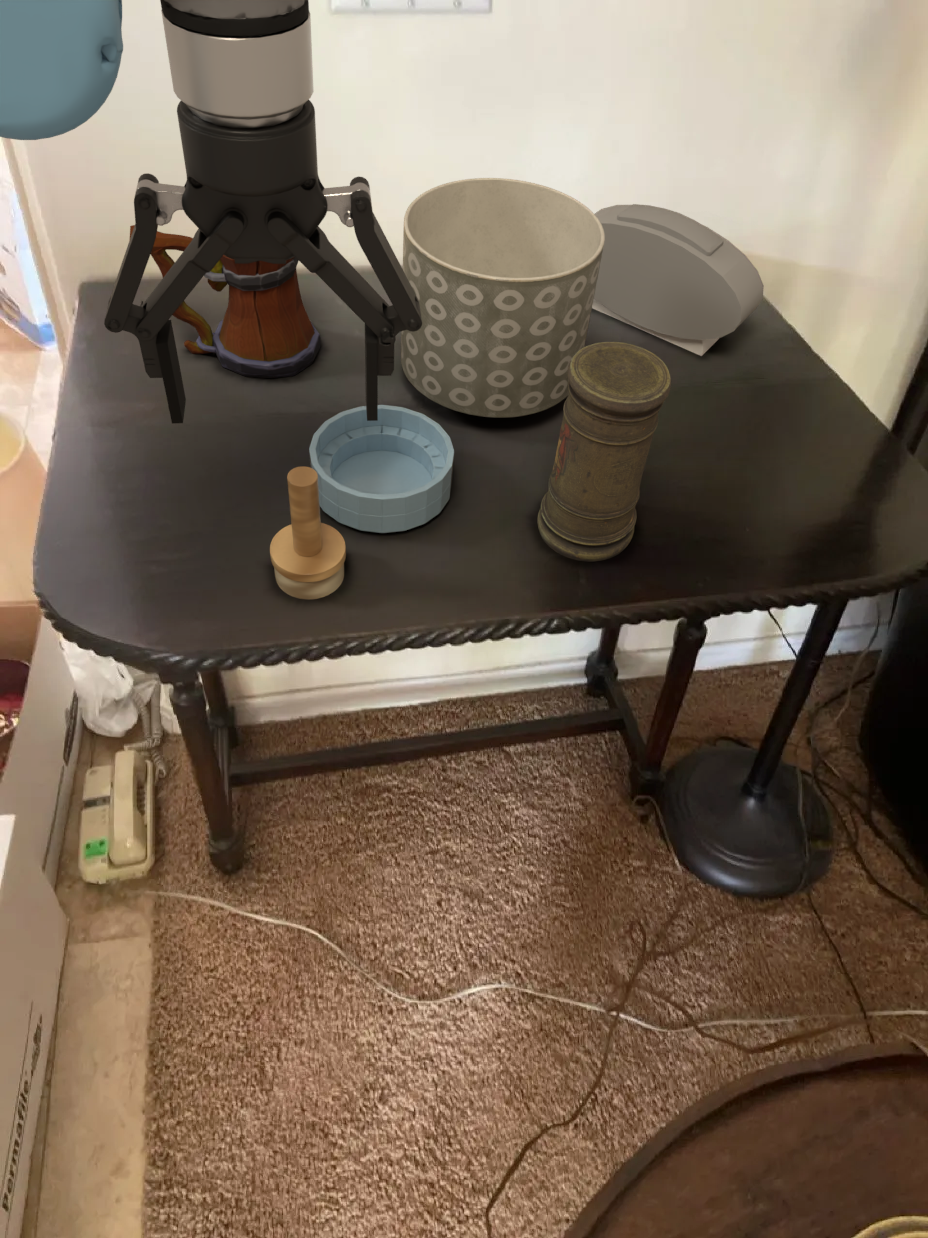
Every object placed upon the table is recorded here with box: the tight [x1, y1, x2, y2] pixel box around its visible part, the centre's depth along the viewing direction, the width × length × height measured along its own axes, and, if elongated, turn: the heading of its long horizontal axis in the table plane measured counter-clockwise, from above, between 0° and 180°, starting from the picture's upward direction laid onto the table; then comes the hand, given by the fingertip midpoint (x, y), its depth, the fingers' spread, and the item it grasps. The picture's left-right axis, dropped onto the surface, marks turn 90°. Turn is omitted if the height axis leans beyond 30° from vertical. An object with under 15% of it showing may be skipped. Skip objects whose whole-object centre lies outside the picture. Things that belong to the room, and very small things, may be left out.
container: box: [536, 341, 672, 563], centre depth 85 cm, size 9×9×18 cm
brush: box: [269, 465, 347, 600], centre depth 81 cm, size 6×6×12 cm
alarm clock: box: [592, 203, 765, 357], centre depth 110 cm, size 23×6×13 cm, turn 54°
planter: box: [400, 177, 605, 419], centre depth 98 cm, size 19×19×18 cm
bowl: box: [308, 404, 455, 534], centre depth 91 cm, size 13×13×5 cm
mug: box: [128, 224, 322, 379], centre depth 100 cm, size 18×12×15 cm, turn 98°
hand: (276, 410), depth 69 cm, fingers open, 13 cm apart
